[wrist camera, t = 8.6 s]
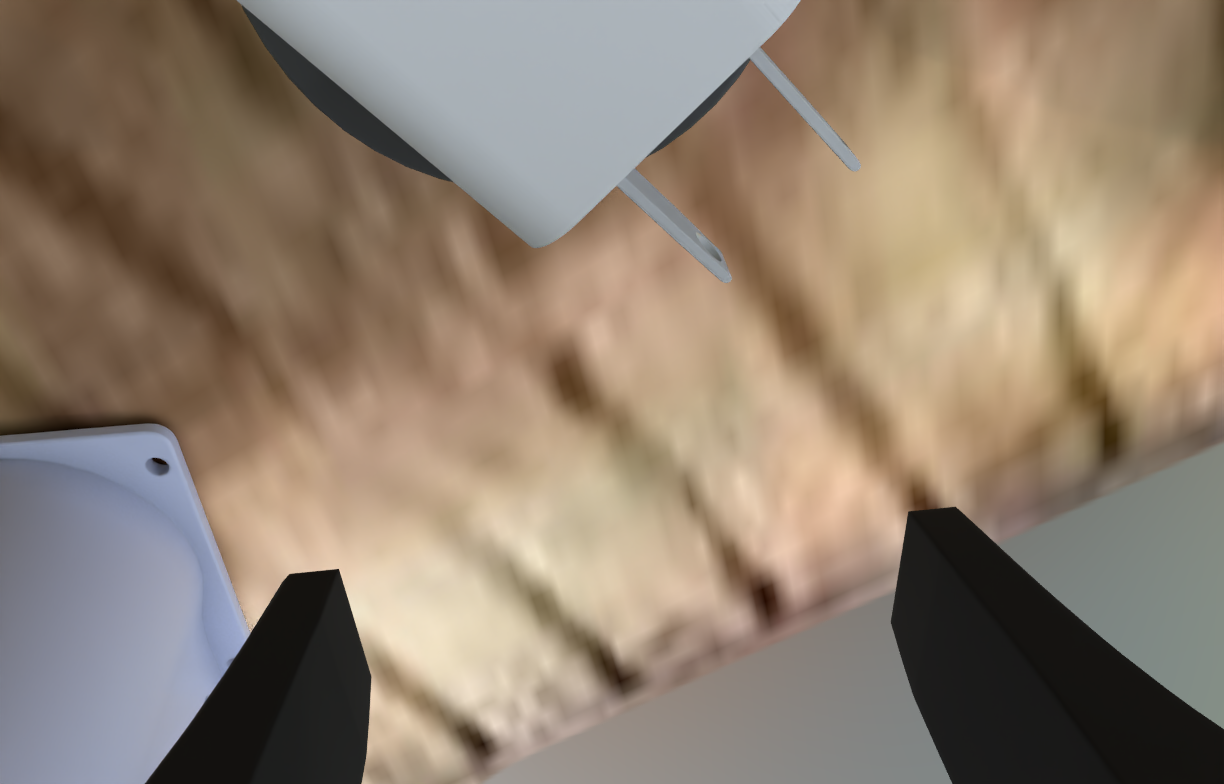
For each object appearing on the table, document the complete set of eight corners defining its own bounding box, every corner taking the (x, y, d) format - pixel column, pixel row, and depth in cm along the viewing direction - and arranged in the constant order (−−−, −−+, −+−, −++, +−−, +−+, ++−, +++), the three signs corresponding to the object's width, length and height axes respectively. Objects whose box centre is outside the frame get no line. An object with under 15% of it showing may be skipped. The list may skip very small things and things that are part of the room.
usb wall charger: (474, -422, 10) (458, -489, 7) (866, 54, 13) (984, 167, 10) (250, -113, 11) (145, -44, 8) (652, 250, 15) (693, 405, 11)
